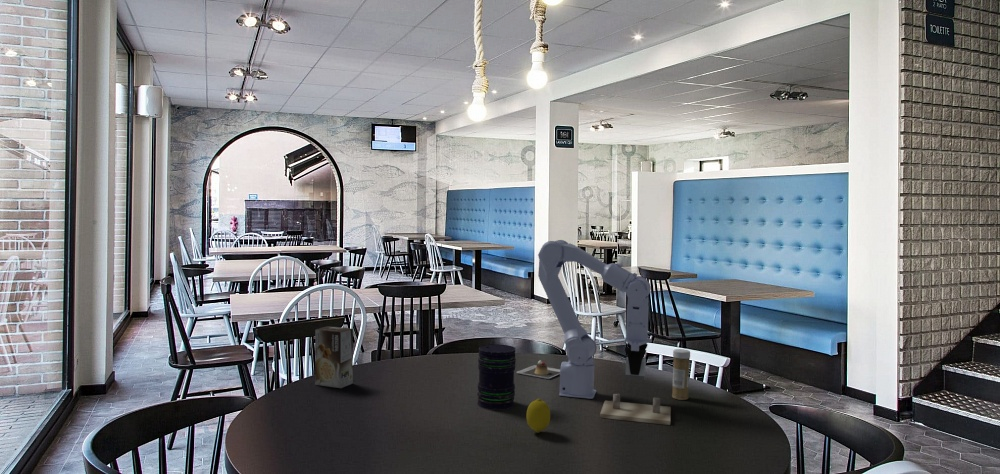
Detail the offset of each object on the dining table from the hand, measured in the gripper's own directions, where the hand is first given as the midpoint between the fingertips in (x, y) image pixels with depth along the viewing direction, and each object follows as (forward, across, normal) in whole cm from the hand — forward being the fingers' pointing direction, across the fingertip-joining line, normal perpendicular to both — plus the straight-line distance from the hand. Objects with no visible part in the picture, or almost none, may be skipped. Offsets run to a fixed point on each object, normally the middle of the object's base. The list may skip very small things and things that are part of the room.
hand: (635, 372), depth 178 cm
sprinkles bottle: (+8, +8, -12) cm, 17 cm away
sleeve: (+2, 0, 0) cm, 2 cm away
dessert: (+9, +22, +30) cm, 38 cm away
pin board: (+8, -11, -1) cm, 14 cm away
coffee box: (+9, -12, +84) cm, 85 cm away
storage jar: (+8, -15, +35) cm, 39 cm away
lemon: (+8, -33, +20) cm, 39 cm away
